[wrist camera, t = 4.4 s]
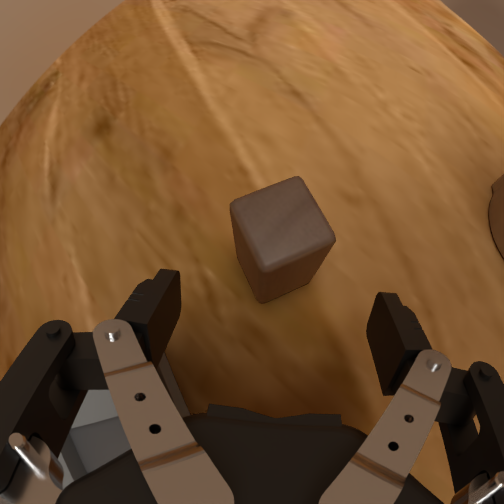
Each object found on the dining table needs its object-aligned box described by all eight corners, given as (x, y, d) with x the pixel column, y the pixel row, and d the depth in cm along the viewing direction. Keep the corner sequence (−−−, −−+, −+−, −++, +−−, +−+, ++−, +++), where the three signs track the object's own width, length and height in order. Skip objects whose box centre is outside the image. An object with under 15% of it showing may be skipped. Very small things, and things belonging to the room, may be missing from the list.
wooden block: (235, 254, 23) (225, 199, 15) (286, 232, 23) (300, 170, 16) (259, 306, 22) (261, 274, 14) (312, 281, 22) (341, 239, 15)
